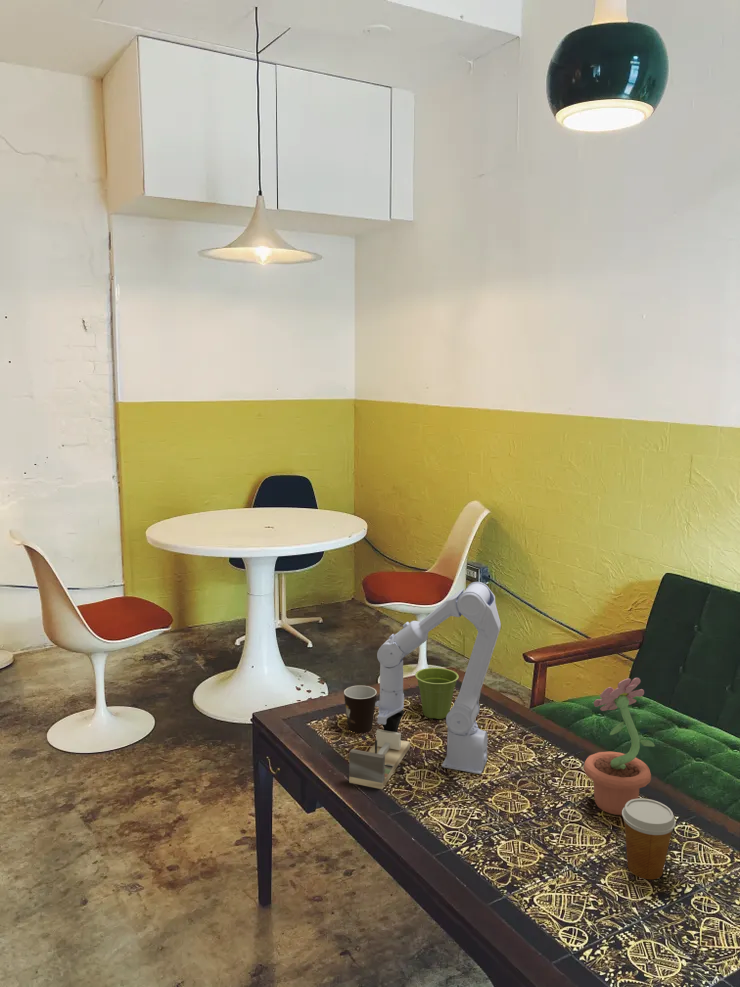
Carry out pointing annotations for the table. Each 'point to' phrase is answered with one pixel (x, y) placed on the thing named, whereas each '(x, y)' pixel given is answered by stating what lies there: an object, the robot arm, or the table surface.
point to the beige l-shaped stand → (374, 765)
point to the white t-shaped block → (388, 740)
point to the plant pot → (436, 691)
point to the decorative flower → (618, 755)
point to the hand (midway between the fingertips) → (390, 739)
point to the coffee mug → (360, 708)
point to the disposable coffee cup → (647, 836)
